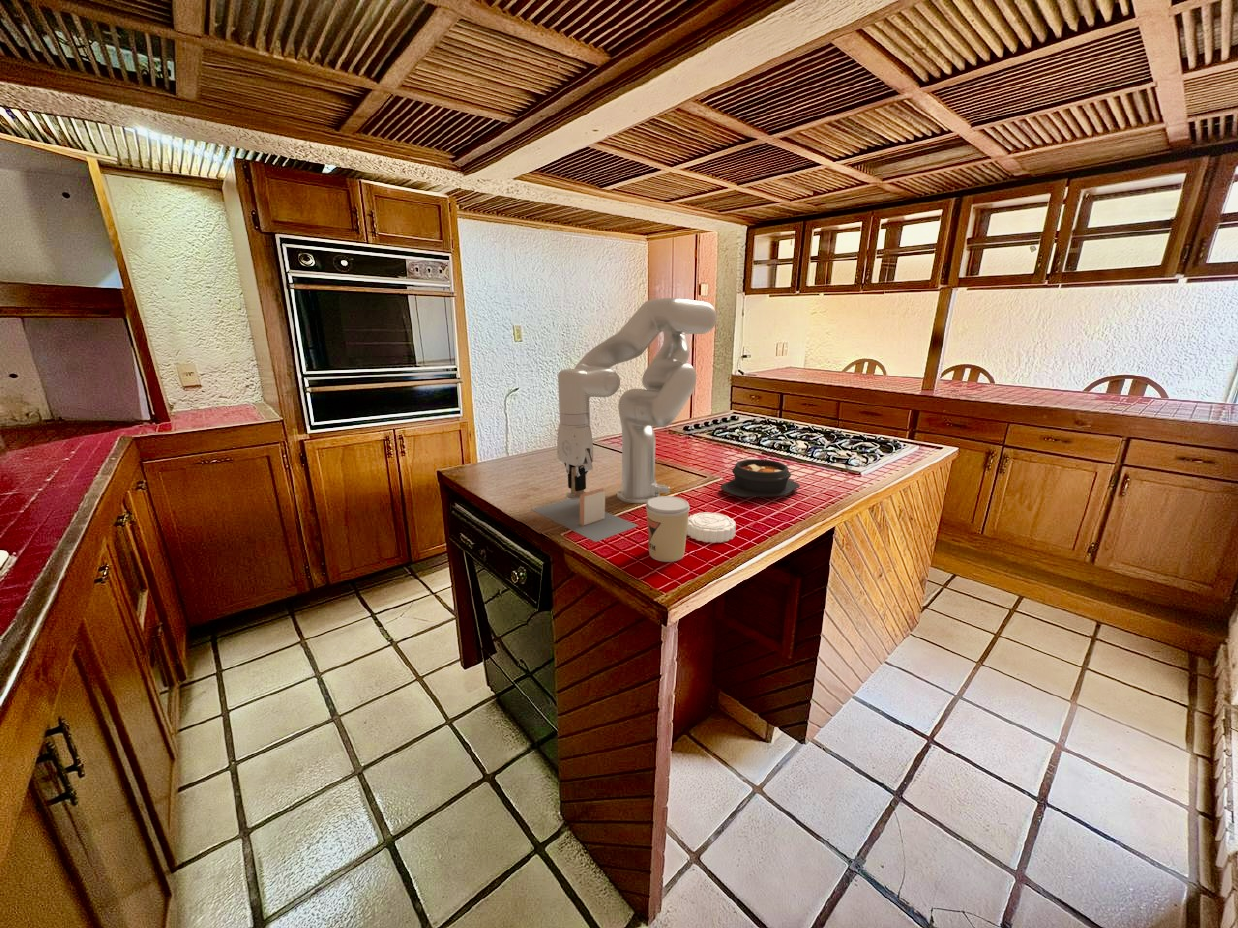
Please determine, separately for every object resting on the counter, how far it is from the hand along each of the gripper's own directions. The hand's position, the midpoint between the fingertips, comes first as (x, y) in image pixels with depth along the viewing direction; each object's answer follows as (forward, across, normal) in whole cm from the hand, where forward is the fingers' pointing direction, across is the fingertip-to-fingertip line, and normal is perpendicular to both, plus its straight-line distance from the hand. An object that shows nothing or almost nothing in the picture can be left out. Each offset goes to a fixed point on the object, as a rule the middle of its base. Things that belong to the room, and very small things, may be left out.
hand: (577, 488), depth 125 cm
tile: (+7, +6, 0) cm, 10 cm away
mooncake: (+8, +30, +18) cm, 36 cm away
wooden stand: (+2, +2, 0) cm, 3 cm away
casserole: (+8, +21, +52) cm, 57 cm away
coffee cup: (+8, +31, +2) cm, 32 cm away
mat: (+8, +2, 0) cm, 8 cm away
